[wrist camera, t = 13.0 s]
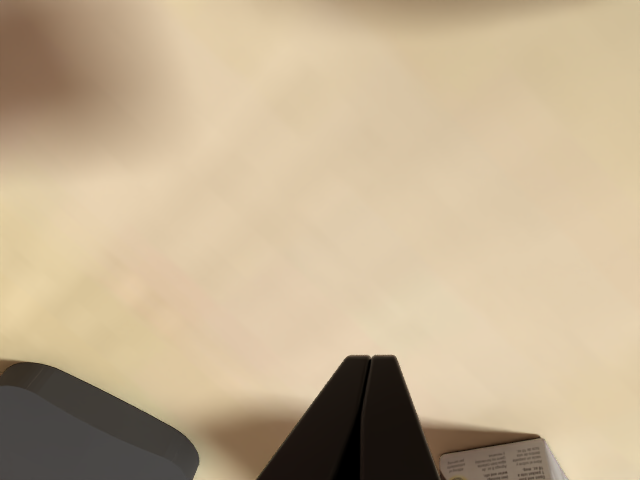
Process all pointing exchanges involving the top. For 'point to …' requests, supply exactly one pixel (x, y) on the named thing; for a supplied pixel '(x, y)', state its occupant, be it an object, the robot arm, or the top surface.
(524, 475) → the coffee box
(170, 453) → the media streaming box
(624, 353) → the top surface
